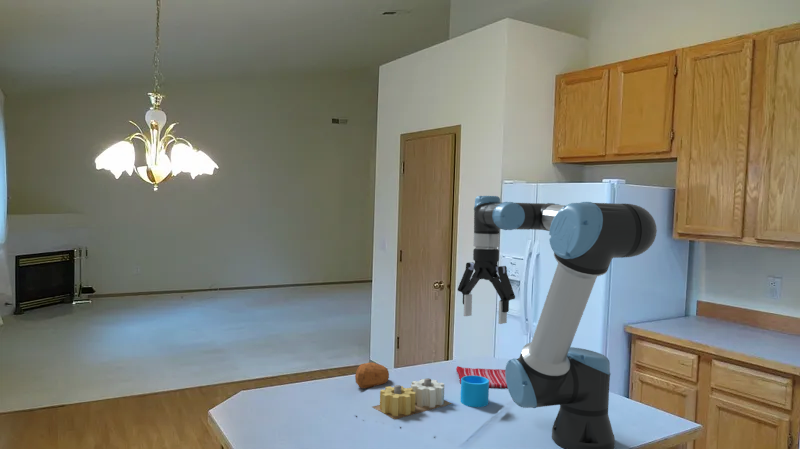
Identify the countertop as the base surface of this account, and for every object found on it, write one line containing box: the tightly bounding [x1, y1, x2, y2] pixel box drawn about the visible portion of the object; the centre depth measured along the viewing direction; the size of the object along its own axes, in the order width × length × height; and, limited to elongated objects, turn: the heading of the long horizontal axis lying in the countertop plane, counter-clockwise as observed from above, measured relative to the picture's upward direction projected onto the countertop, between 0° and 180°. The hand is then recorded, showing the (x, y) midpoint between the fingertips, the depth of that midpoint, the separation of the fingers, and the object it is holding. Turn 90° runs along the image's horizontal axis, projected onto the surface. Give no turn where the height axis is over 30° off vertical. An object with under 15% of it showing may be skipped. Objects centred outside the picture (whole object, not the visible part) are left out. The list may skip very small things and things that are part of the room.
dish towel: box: [455, 366, 508, 390], centre depth 188 cm, size 17×24×3 cm
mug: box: [460, 376, 490, 408], centre depth 164 cm, size 12×8×8 cm
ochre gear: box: [379, 385, 416, 416], centre depth 155 cm, size 10×10×5 cm
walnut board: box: [372, 378, 453, 420], centre depth 158 cm, size 11×21×8 cm, turn 127°
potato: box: [354, 362, 390, 389], centre depth 178 cm, size 9×11×8 cm
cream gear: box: [410, 378, 445, 408], centre depth 162 cm, size 10×10×5 cm
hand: (484, 319), depth 164 cm, fingers open, 13 cm apart
